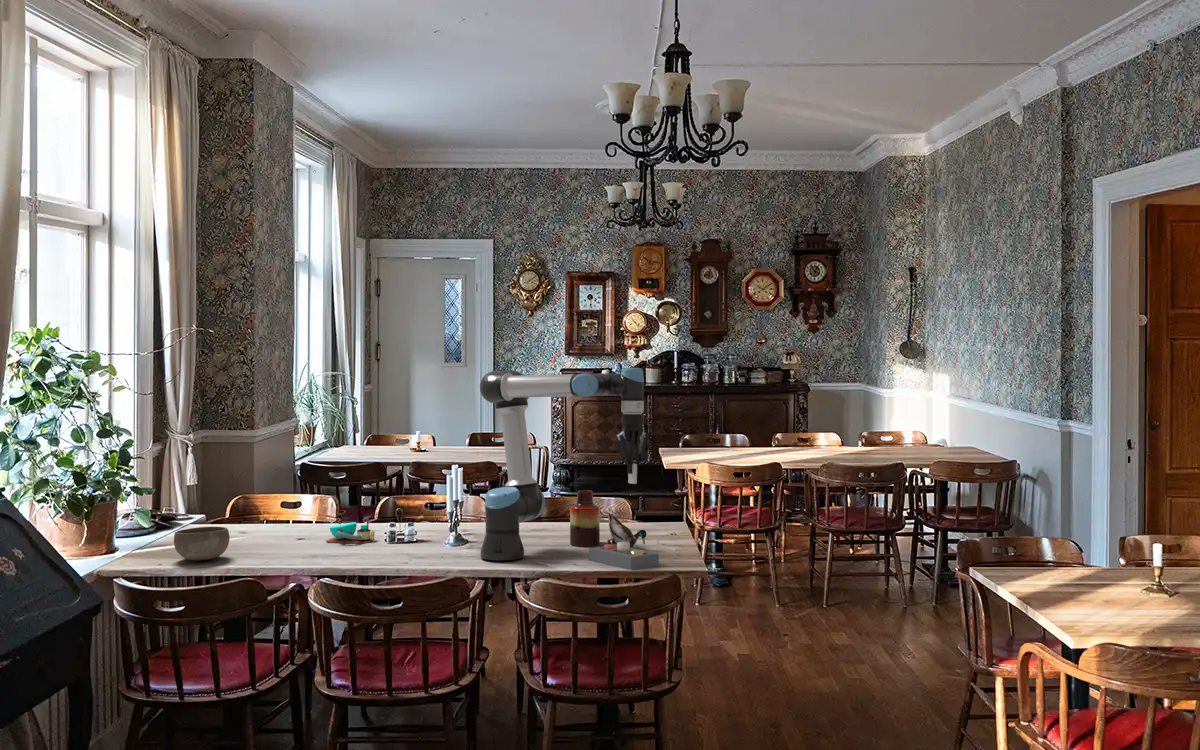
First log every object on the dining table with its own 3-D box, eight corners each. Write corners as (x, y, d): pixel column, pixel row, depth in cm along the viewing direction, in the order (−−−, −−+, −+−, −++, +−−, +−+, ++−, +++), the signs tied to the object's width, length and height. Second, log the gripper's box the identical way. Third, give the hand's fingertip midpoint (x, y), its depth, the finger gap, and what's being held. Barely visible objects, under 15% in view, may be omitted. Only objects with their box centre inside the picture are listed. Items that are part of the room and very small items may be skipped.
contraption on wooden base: (363, 547, 373) (363, 506, 373) (317, 546, 376) (317, 505, 376) (379, 541, 386) (379, 501, 386) (334, 540, 390) (334, 500, 390)
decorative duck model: (654, 540, 366) (638, 501, 369) (644, 543, 359) (628, 503, 363) (621, 554, 373) (606, 516, 376) (611, 558, 366) (595, 518, 369)
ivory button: (622, 554, 339) (622, 544, 339) (614, 553, 343) (614, 542, 343) (632, 553, 342) (632, 542, 342) (624, 551, 345) (624, 541, 345)
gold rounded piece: (636, 562, 334) (636, 552, 334) (627, 561, 337) (627, 550, 337) (645, 561, 337) (645, 550, 337) (637, 559, 340) (637, 549, 340)
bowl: (170, 556, 353) (170, 527, 353) (224, 552, 362) (224, 524, 362) (177, 564, 338) (177, 534, 338) (233, 560, 347) (233, 530, 347)
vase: (605, 546, 375) (605, 491, 375) (584, 549, 368) (584, 493, 368) (585, 543, 383) (585, 488, 383) (564, 546, 375) (564, 490, 375)
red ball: (609, 556, 345) (609, 546, 345) (601, 555, 348) (601, 545, 348) (618, 555, 347) (618, 545, 347) (611, 553, 351) (611, 543, 351)
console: (630, 569, 330) (630, 557, 330) (589, 560, 347) (589, 548, 347) (658, 565, 337) (658, 553, 337) (616, 556, 355) (616, 544, 355)
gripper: (624, 414, 338) (624, 485, 338) (654, 413, 346) (654, 482, 346) (610, 413, 344) (610, 483, 344) (639, 412, 352) (639, 481, 352)
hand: (632, 483), depth 345 cm, fingers closed
